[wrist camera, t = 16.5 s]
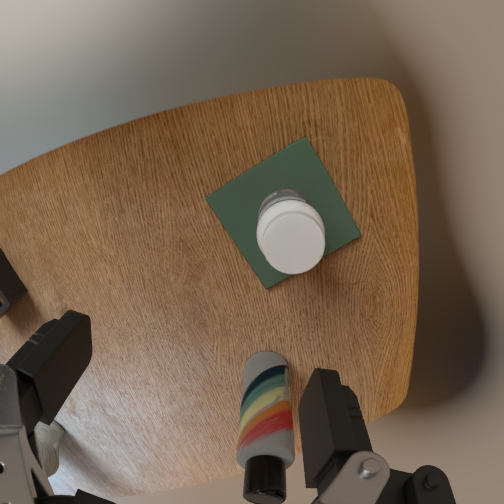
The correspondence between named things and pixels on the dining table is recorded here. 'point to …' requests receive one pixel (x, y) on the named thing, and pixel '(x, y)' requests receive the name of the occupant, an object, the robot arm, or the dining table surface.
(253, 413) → the lotion bottle
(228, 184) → the mat
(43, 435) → the elephant cookie jar
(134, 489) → the dining table surface
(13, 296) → the holder
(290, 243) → the pill bottle
